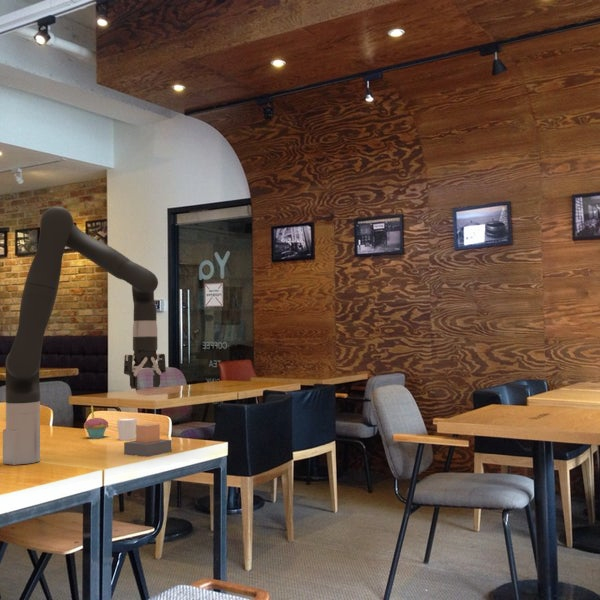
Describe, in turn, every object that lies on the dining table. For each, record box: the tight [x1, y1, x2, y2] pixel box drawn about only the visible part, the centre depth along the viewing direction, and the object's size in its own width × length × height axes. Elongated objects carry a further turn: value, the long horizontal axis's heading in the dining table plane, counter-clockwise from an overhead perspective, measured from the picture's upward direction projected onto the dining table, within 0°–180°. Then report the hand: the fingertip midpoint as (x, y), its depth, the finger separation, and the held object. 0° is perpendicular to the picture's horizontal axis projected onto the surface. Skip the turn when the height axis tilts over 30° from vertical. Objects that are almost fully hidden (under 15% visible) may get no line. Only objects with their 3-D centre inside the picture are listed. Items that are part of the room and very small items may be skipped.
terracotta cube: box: [135, 423, 161, 443], centre depth 211 cm, size 5×5×5 cm
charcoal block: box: [123, 438, 173, 458], centre depth 211 cm, size 10×10×4 cm
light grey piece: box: [116, 417, 138, 441], centre depth 243 cm, size 7×7×7 cm
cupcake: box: [83, 404, 109, 440], centre depth 249 cm, size 9×8×12 cm
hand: (145, 387), depth 214 cm, fingers open, 8 cm apart
